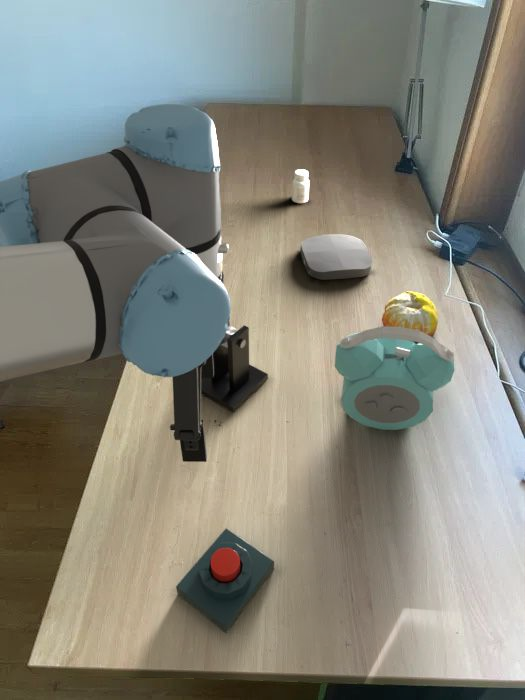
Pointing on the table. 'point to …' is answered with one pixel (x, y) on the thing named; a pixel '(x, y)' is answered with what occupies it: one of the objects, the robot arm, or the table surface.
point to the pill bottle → (300, 186)
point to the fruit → (411, 313)
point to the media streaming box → (335, 256)
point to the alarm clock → (391, 376)
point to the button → (225, 565)
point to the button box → (225, 597)
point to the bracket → (233, 373)
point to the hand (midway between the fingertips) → (199, 414)
